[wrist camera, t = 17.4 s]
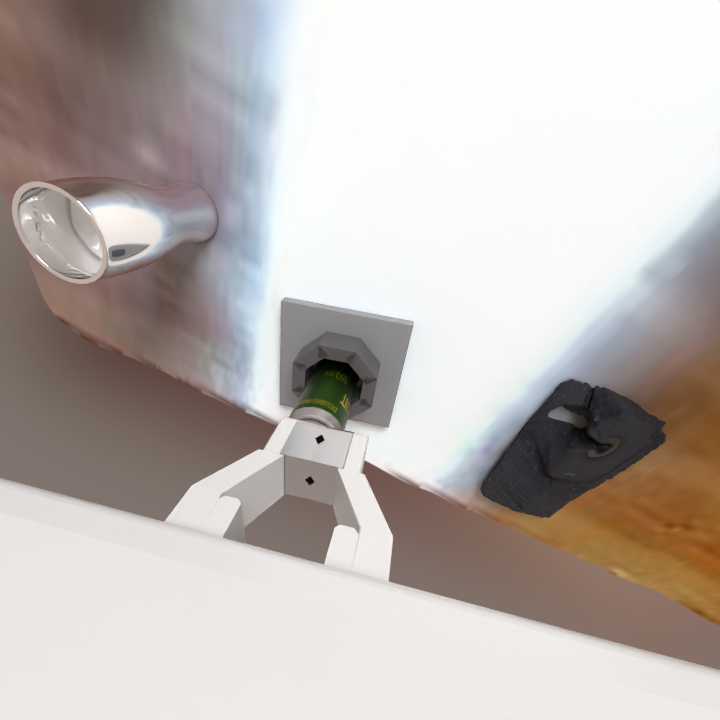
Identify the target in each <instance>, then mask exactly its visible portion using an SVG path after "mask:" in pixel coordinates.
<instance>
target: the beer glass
mask: <svg viewBox="0 0 720 720" xmlns="http://www.w3.org/2000/svg"><path fill="white" fill-rule="evenodd" d="M12 215H13V220H14V224H15V227H16V229H17V232H18V234H19V236H20V238H21V240H22V242H23V243H24V245H25V246H26V248H27V249H28V251H29V252H30V253H31V254H32V256H33V257H34V258H35V259H36V260H37V261H38V262H39V263H40V264H41V265H42V266H43V267H45V268H46V269H47V270H48V271H50V272H51V273H53V274H54V275H56V276H58V277H59V278H62V279H64V280H66V281H69V282H72V283H78V284H87V283H92V282H94V281H97V280H101V279H106V278H111V277H115V276H119V275H123V274H126V273H129V272H132V271H136V270H138V269H141V268H143V267H146V266H148V265H150V264H152V263H153V262H155V261H157V260H159V259H160V258H162V257H163V256H165V255H166V254H168V253H169V252H171V251H172V250H173V249H175V248H176V247H178V246H179V245H181V244H184V243H201V242H204V241H207V240H208V239H210V238H211V237H212V236H213V235H214V233H215V231H216V229H217V224H218V215H217V210H216V207H215V204H214V202H213V200H212V199H211V197H210V196H209V194H208V193H207V192H206V191H205V190H204V189H203V188H202V187H201V186H199V185H198V184H196V183H194V182H191V181H188V180H176V181H173V182H170V183H168V184H165V185H161V186H156V185H151V184H146V183H141V182H137V181H132V180H127V179H121V178H113V177H95V176H88V177H72V178H63V179H56V180H49V181H34V182H29V183H26V184H24V185H22V186H21V187H20V188H19V189H18V190H17V192H16V193H15V195H14V198H13V202H12Z"/></svg>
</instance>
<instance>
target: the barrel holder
mask: <svg viewBox="0 0 720 720" xmlns="http://www.w3.org/2000/svg"><path fill="white" fill-rule="evenodd" d="M412 328H413V321H408V320H403V319H397V318H392V317H387V316H382V315H376V314H371V313H366V312H360V311H355V310H350V309H345V308H339V307H334V306H329V305H324V304H318V303H313V302H308V301H302V300H297V299H292V298H287V297H285V298H284V299H283V300H282V301H281V358H280V405H284V406H289V407H295V405H296V403H297V401H298V399H299V397H300V396H301V394H302V392H303V390H304V388H305V386H306V384H307V382H308V380H309V378H310V377H311V375H312V373H313V371H314V369H315V367H316V365H317V363H318V362H319V361H320V360H322V359H323V358H325V359H330V360H335V361H340V362H345V363H349V365H350V366H351V367H352V368H353V370H354V371H355V372H356V373H357V374H358V376H359V380H358V384H357V387H356V391H355V394H354V397H353V401H352V404H351V408H350V411H349V415H348V418H347V420H348V419H351V420H355V421H360V422H365V423H369V424H374V425H379V426H384V427H388V428H389V423H390V419H391V415H392V411H393V407H394V403H395V399H396V394H397V390H398V386H399V382H400V378H401V374H402V370H403V365H404V361H405V357H406V353H407V349H408V345H409V341H410V336H411V332H412Z"/></svg>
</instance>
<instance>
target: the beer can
mask: <svg viewBox="0 0 720 720" xmlns="http://www.w3.org/2000/svg"><path fill="white" fill-rule="evenodd" d="M358 380H359V376H358V374H357V373H356V372H355V371H354V370H353V368H352V367H351V366H350V365H349V363H345V362H340V361H335V360H330V359H325V358H323V359H322V360H320V361H319V362H318V363H317V365H316V367H315V369H314V371H313V373H312V375H311V377H310V378H309V380H308V382H307V384H306V386H305V388H304V390H303V392H302V394H301V396H300V397H299V399H298V401H297V403H296V405H295V407H294V409H293V411H292V413H291V415H290V416H289V418H292V419H296V420H302V421H306V422H310V423H314V424H318V425H321V426H325V427H331V428H336V429H340V430H344V429H345V425H346V422H347V418H348V415H349V411H350V408H351V404H352V401H353V397H354V394H355V391H356V387H357V384H358Z"/></svg>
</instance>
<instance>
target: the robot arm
mask: <svg viewBox="0 0 720 720" xmlns="http://www.w3.org/2000/svg"><path fill="white" fill-rule="evenodd" d="M368 438H369V436H368V435H364V434H359V433H355V432H350V431H345V430H340V429H336V428H331V427H325V426H321V425H318V424H314V423H310V422H306V421H302V420H296V419H292V418H288V417H284V418H283V419H281V421H280V423H279V424H278V426H277V428H276V430H275V431H274V433H273V434H272V436H271V438H270V439H269V441H268V443H267V444H266V446H265V448H264V449H263V450H260V449H259V450H257V451H255V452H253V453H251V454H249V455H247V456H246V457H244V458H242V459H240V460H238V461H236V462H235V463H233V464H231V465H229V466H227V467H225V468H223V469H222V470H220V471H218V472H216V473H214V474H212V475H210V476H209V477H207V478H205V479H203V480H201V481H199V482H198V483H196V484H194V485H192V486H191V487H190V489H189V490H188V491H187V493H186V494H185V496H184V497H183V498H182V499H181V501H180V502H179V503H178V505H177V506H176V507H175V508H174V510H173V511H172V513H171V514H170V515H169V516H168V518H167V519H166V520H165V522H163V521H159V520H155V519H151V518H148V517H144V516H140V515H137V514H133V513H129V512H125V511H121V510H118V509H114V508H110V507H107V506H103V505H99V504H95V503H92V502H88V501H84V500H80V499H77V498H73V497H69V496H65V495H62V494H58V493H54V492H50V491H47V490H43V489H39V488H36V487H32V486H28V485H24V484H21V483H16V482H13V481H9V480H6V479H1V478H0V720H720V670H718V669H714V668H710V667H707V666H703V665H698V664H695V663H691V662H687V661H684V660H680V659H676V658H672V657H669V656H665V655H661V654H658V653H654V652H650V651H646V650H643V649H639V648H635V647H631V646H627V645H624V644H620V643H616V642H613V641H609V640H605V639H601V638H598V637H594V636H590V635H586V634H583V633H579V632H575V631H571V630H568V629H564V628H560V627H556V626H552V625H549V624H545V623H541V622H538V621H534V620H530V619H526V618H523V617H519V616H515V615H511V614H507V613H504V612H500V611H496V610H493V609H489V608H485V607H482V606H478V605H473V604H470V603H466V602H463V601H459V600H455V599H451V598H448V597H444V596H440V595H436V594H433V593H429V592H425V591H422V590H418V589H414V588H410V587H407V586H403V585H399V584H395V583H392V582H388V580H389V571H390V561H391V552H392V542H393V536H392V534H391V531H390V530H389V527H388V525H387V523H386V520H385V518H384V516H383V514H382V512H381V510H380V507H379V505H378V503H377V501H376V499H375V496H374V494H373V492H372V490H371V488H370V485H369V484H368V481H367V479H366V477H365V474H362V470H363V465H364V459H365V454H366V449H367V443H368ZM284 494H288V495H293V496H298V497H302V498H307V499H311V500H314V501H318V502H321V503H325V504H329V505H332V506H333V508H334V512H335V516H336V519H337V523H338V526H337V527H335V528H334V532H333V536H332V539H331V543H330V546H329V549H328V553H327V557H326V560H325V563H324V564H320V563H316V562H313V561H309V560H305V559H301V558H298V557H294V556H290V555H286V554H283V553H278V552H275V551H271V550H268V549H264V548H260V547H256V546H253V545H249V544H245V536H244V527H245V526H246V525H248V524H249V523H250V522H251V521H253V520H254V519H255V518H256V517H257V516H259V515H260V514H261V513H262V512H264V511H265V510H266V509H267V508H268V507H270V506H271V505H272V504H273V503H275V502H276V501H277V500H278V499H280V498H281V497H282V496H283V495H284Z"/></svg>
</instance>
